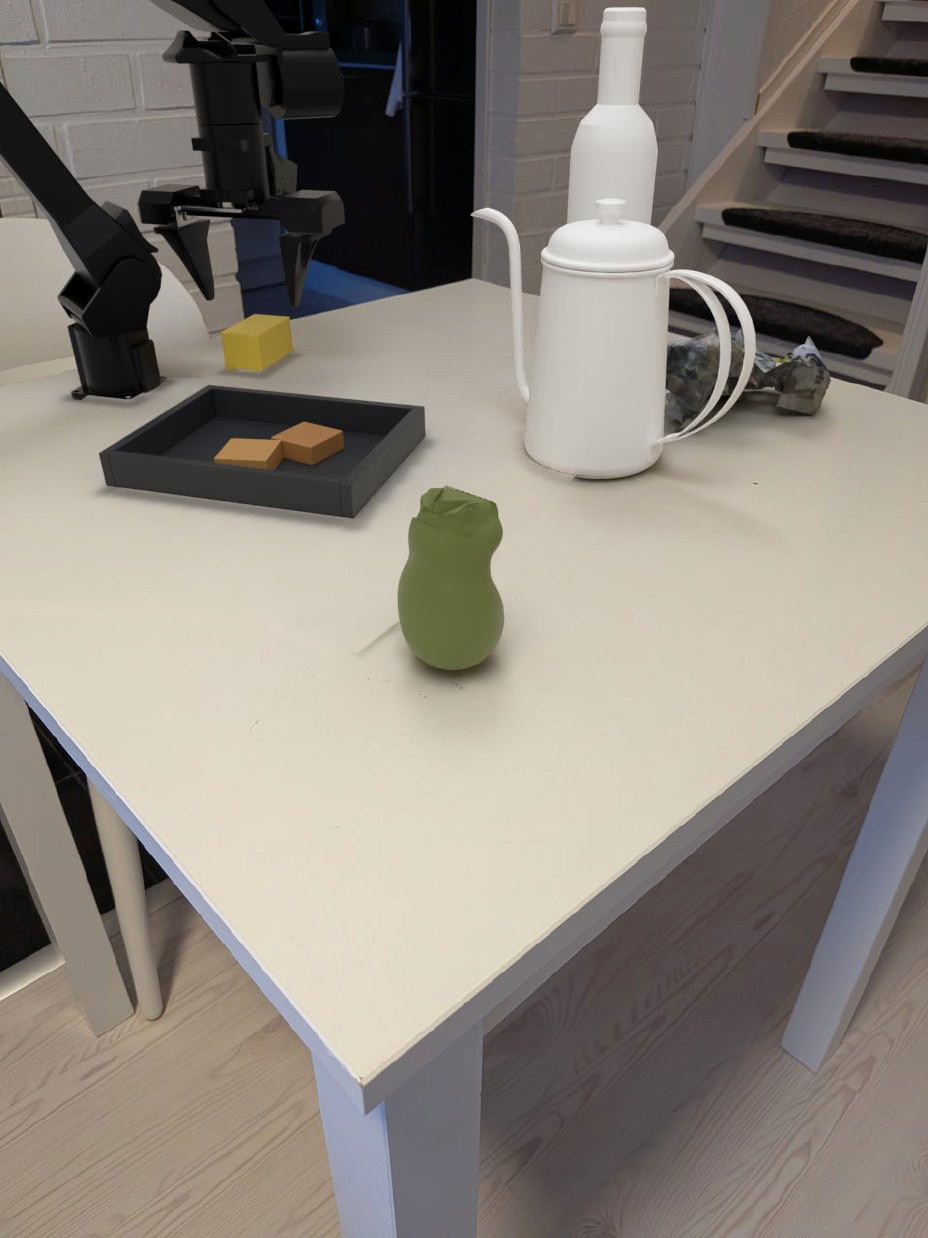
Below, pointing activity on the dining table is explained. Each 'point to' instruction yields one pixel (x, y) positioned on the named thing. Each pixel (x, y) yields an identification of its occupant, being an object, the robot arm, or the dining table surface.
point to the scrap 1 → (251, 453)
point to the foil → (699, 365)
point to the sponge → (257, 342)
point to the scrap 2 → (310, 442)
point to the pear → (451, 580)
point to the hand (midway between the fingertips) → (252, 302)
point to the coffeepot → (607, 344)
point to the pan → (205, 422)
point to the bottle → (615, 128)
